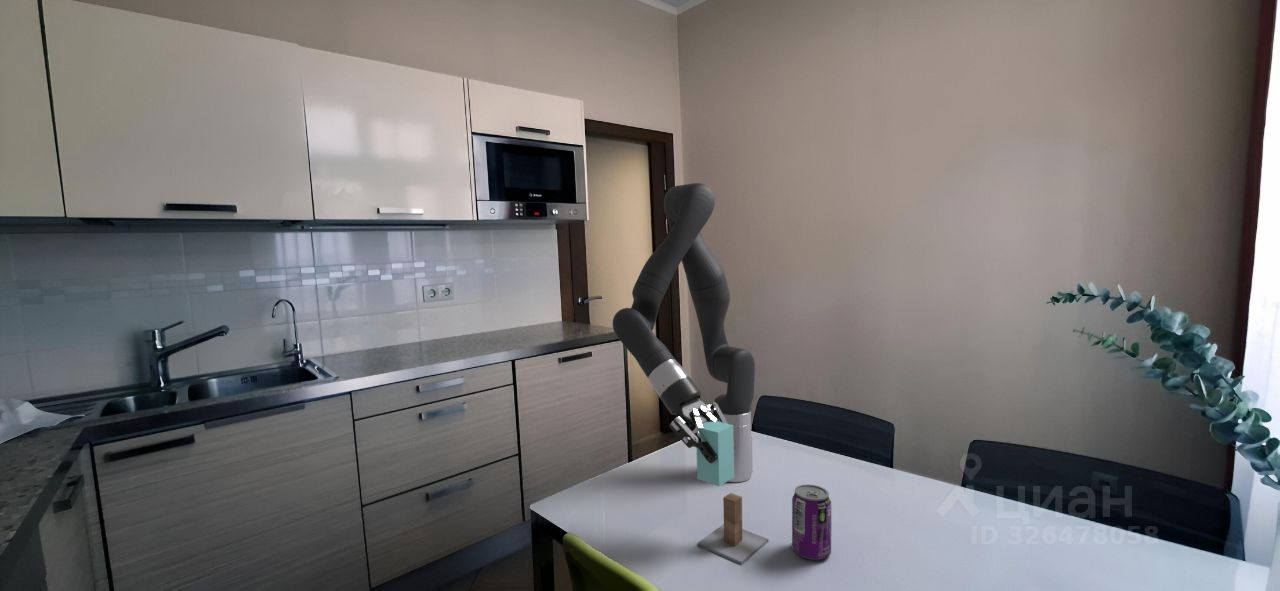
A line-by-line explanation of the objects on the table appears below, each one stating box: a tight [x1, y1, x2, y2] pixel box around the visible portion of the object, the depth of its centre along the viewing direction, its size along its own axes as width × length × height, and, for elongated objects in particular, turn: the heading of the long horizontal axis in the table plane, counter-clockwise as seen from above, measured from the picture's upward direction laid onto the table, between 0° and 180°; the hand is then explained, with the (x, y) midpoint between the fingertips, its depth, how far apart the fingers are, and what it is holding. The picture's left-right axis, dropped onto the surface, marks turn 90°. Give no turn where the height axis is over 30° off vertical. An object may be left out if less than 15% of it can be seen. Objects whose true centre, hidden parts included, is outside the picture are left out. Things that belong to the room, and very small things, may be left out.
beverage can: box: [791, 484, 832, 561], centre depth 100 cm, size 7×7×12 cm
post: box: [697, 492, 769, 565], centre depth 103 cm, size 10×10×10 cm
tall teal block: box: [696, 421, 734, 487], centre depth 104 cm, size 5×5×11 cm
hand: (723, 455), depth 102 cm, fingers closed on tall teal block, 5 cm apart
